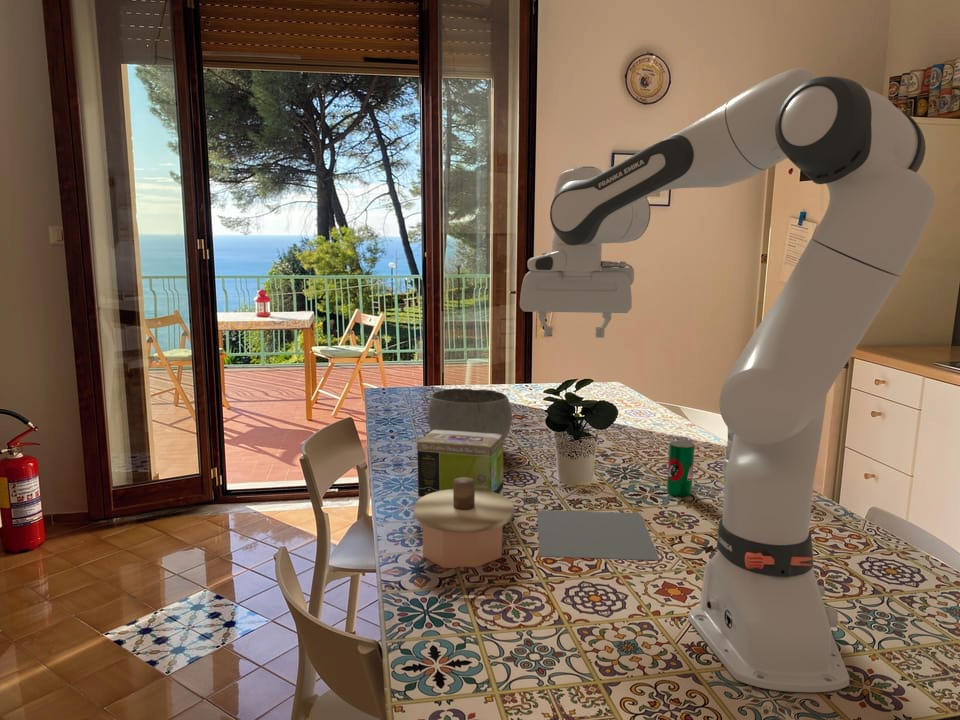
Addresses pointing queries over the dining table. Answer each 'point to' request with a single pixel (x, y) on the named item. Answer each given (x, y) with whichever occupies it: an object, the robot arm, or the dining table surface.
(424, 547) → the pot
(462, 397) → the bowl
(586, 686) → the dining table surface
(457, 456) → the tea box
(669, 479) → the soda can
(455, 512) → the lid
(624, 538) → the mat
